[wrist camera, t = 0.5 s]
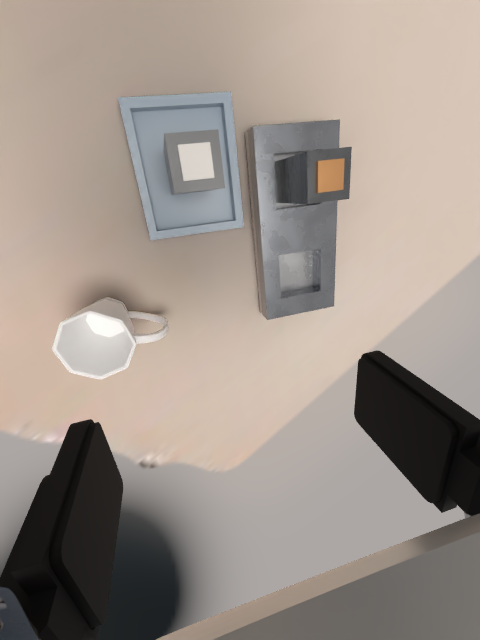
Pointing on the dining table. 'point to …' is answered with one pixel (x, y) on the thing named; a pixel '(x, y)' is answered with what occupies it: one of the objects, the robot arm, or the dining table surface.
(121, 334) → the cup
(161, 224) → the tray
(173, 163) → the plug
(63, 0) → the dining table surface
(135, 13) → the dining table surface
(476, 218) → the dining table surface
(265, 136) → the grey socket
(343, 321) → the dining table surface
